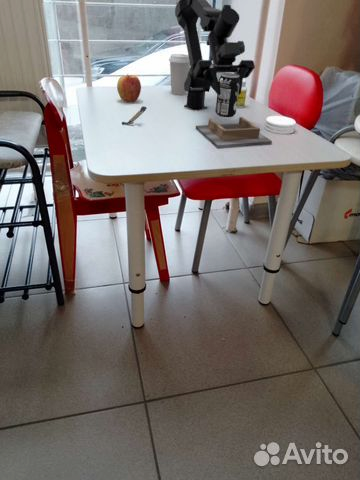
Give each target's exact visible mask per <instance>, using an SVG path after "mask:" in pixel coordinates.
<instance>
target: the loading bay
mask: <svg viewBox="0 0 360 480" xmlns="http://www.w3.org/2000/svg"><path fill="white" fill-rule="evenodd" d="M207 120H208V122H207V125H206V124H203V125H195V130H196V131H197V132H199V134H200V135H202V136H203V137H204V139H206V140H207V141H208V142H210V143H211V144H212V146H213V147H215V148H216V149H227V148H228V149H229V148H242V147H243V148H245V147H253V146H266V145H267V146H268V145H269V146H270V145H272V144H273V141H272V140H271V139H270V138H268V137H267V136H266V135H264V134H263V133H261V128H260V127H258V126H257V125H256V124H254V123H252V122H250V121H249V120H248V119H246V118H245V117H243V116H240V117H239V121H238V123H218V122H217V121H215V120H214V119H213V118H208V119H207Z"/></svg>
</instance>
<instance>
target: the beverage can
mask: <svg viewBox="0 0 360 480" xmlns="http://www.w3.org/2000/svg"><path fill="white" fill-rule="evenodd" d="M218 82H219V86H220V92H221V94H220V95H218V94H217V93H216V103H215V104H216V105H215V114H216V115H217V116H218V117H222V118H233V117H234V116H235V115H236V114H237V109H238V108H237V101H238V94H239V86H240V79H239V75H238V74H234V73H221V74H220V76H219V78H218Z"/></svg>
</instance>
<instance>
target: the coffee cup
mask: <svg viewBox="0 0 360 480" xmlns="http://www.w3.org/2000/svg"><path fill="white" fill-rule="evenodd" d="M168 61H169V67H170V68H169V69H170V90H171V92H170V93H171V94H172V95H173V96H186V95H187V93H188V92H187V91H186V90H184V83H185V81H186V79H187V77H188V72H189V69H190V61H189V56H188V54H186V53H185V54H184V53H172V54H171V55H170V57H169V59H168Z"/></svg>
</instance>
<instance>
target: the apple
mask: <svg viewBox="0 0 360 480" xmlns="http://www.w3.org/2000/svg"><path fill="white" fill-rule="evenodd" d="M141 84H142V83H141V80H140V78H139V77H138V76H137V75H133V74H132V75H131V74H130V75H129V73H127V75H122V76H120V77H119V79H118V80H117V83H116V88H117V89H116V90H117V92H118V93H117V94H118V96H119V98H120V99H121V101H123V102H124V103H135V102H136V101H137V100H138V99H139V97H140V95H141V92H142V85H141Z"/></svg>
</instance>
